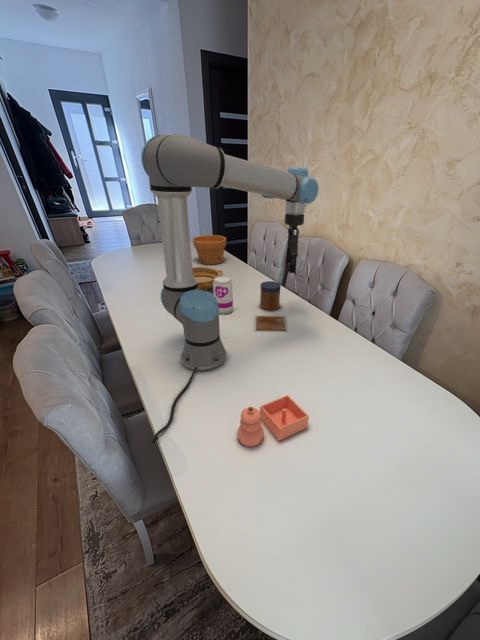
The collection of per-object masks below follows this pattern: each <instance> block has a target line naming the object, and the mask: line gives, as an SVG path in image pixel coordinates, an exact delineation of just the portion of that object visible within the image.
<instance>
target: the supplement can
mask: <svg viewBox="0 0 480 640" xmlns="http://www.w3.org/2000/svg"><path fill="white" fill-rule="evenodd" d="M212 289H213V295H214V296H215V297H216V299H217V302H218V307H219V314H220V315H228V314H230V313H232V312H233V310H234V298H233V297H234V294H233V291H234V290H233V281H232V279H231V277H229V276H226V275H225V276H223V275H222V276H221V277H216V278H215V279H214V282H213V287H212Z"/></svg>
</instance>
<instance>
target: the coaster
mask: <svg viewBox="0 0 480 640" xmlns="http://www.w3.org/2000/svg"><path fill="white" fill-rule="evenodd" d="M286 330H287V328H286V321H285V317H284V316H275V315H273V316H272V315H271V316H270V315H256V331H266V332H267V331H268V332H271V331H272V332H279V331H280V332H286Z"/></svg>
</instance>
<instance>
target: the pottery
mask: <svg viewBox="0 0 480 640" xmlns="http://www.w3.org/2000/svg"><path fill="white" fill-rule="evenodd" d="M309 418H310V416H309V414H308V413H306V411H304V409H302V408H301V407H300V405H299V404H297V402H295V400H293V398H291V397H290V395H289V394H287V395H284V396H282V397H279V398H277V399H274V400H272V401H269V402H266V403H264V404H262V405H260V406H259V409H257V408H255V407H253V406H248V407H246V408H244V409H243V410H242V411H241V413H240V420H239V426H238V428H237V437H238V440H239V442H240V444H242V445H243V446H245V447H251V448H252V447H255V446H257V445H259V444H261V442H262V440H263V437H264V428H263V426H262V422H263V423H264V424H265V426H266V427H267V428H268V430H269V431H270V432H271V433H272V434H273V435H274V437H275V438H276V439H277V440H278V441H279V442H280V441H282V440H283V439H286V438H289V437H290V436H292V435H294V434H296V433H299V432H300V431H303V430H305V429H307V428H308V425H309Z"/></svg>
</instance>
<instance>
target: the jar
mask: <svg viewBox="0 0 480 640" xmlns="http://www.w3.org/2000/svg"><path fill="white" fill-rule="evenodd" d="M259 296H260V299H259V301H260V303H259V307H260V309H261V310H263V311H266V312H275V311H277V310H279V309H280V302H281V289H280V290H279V291H277V292H265V291H262V290H261V289H260V295H259Z"/></svg>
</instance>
